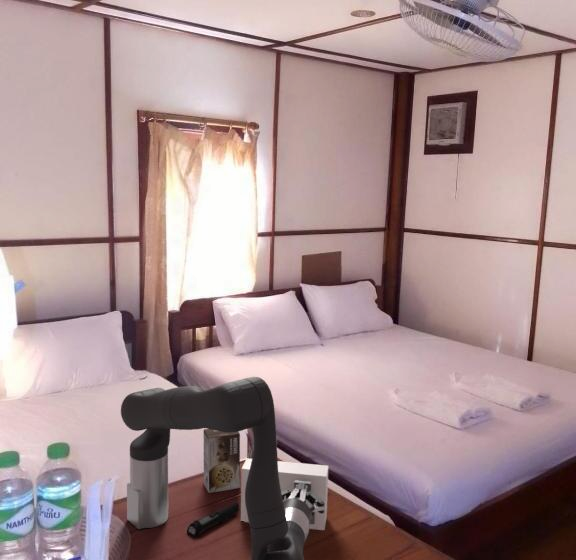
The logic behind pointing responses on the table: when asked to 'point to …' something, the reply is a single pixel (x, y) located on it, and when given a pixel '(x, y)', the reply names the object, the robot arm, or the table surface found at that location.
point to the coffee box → (221, 460)
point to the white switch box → (286, 478)
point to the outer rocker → (305, 484)
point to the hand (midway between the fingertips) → (302, 486)
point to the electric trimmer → (212, 519)
